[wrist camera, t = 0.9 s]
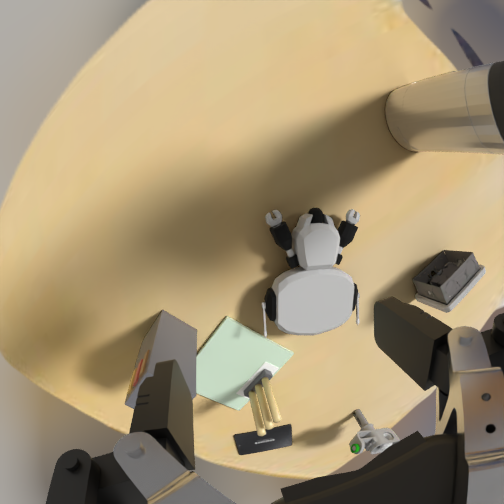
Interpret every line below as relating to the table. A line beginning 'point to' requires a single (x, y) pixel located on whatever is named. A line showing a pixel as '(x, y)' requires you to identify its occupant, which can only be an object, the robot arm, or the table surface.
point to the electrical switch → (448, 279)
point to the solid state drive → (264, 440)
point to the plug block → (165, 353)
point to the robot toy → (312, 275)
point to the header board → (241, 370)
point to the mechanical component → (371, 437)
